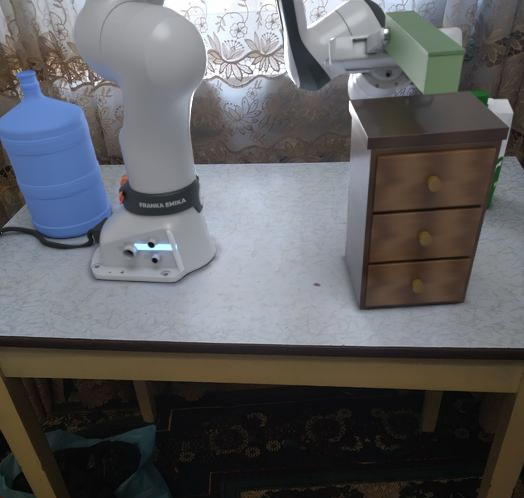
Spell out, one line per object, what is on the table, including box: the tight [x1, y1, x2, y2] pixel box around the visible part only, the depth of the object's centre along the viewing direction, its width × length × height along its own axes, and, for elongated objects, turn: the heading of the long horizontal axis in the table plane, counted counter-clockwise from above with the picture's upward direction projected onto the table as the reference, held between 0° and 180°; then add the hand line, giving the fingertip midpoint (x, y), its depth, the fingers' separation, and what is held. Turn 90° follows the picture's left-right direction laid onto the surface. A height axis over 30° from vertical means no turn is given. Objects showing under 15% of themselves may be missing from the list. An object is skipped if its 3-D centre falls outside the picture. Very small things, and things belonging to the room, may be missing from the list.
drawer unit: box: [345, 90, 509, 310], centre depth 77 cm, size 17×17×26 cm
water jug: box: [0, 69, 112, 239], centre depth 99 cm, size 16×16×28 cm
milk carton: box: [468, 89, 514, 210], centre depth 98 cm, size 9×9×20 cm
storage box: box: [383, 10, 467, 95], centre depth 69 cm, size 4×24×4 cm, turn 1°
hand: (404, 31), depth 75 cm, fingers closed on storage box, 4 cm apart
